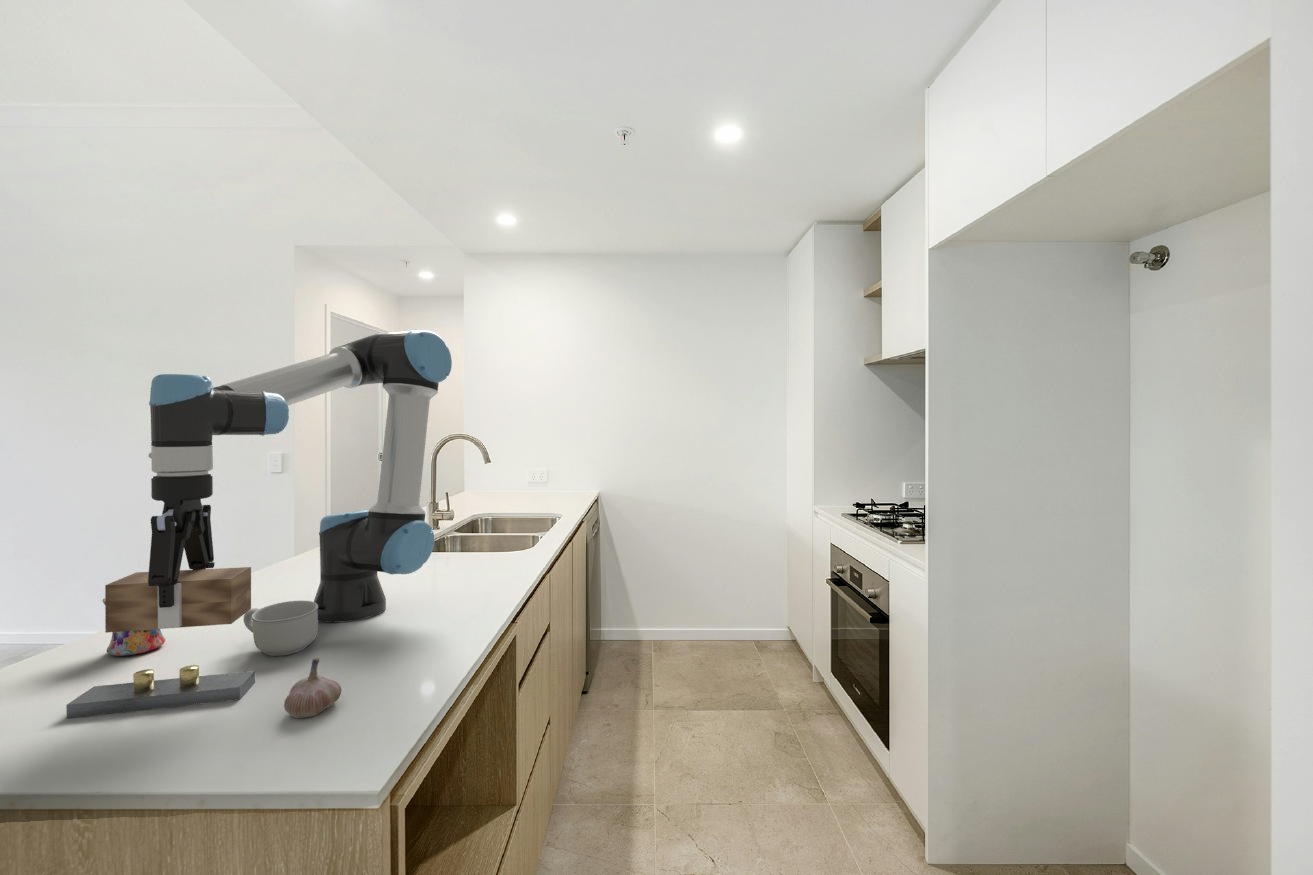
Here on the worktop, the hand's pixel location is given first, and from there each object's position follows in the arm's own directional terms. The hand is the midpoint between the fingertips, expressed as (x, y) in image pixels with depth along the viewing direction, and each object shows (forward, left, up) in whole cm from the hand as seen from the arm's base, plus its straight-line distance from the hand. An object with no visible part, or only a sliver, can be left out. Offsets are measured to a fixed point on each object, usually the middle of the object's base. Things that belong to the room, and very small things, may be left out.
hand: (184, 617), depth 94 cm
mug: (+18, -27, -13) cm, 35 cm away
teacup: (-8, -19, -13) cm, 24 cm away
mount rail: (+2, 0, -13) cm, 13 cm away
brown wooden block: (0, 0, 0) cm, 0 cm away
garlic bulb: (-21, +10, -13) cm, 26 cm away
